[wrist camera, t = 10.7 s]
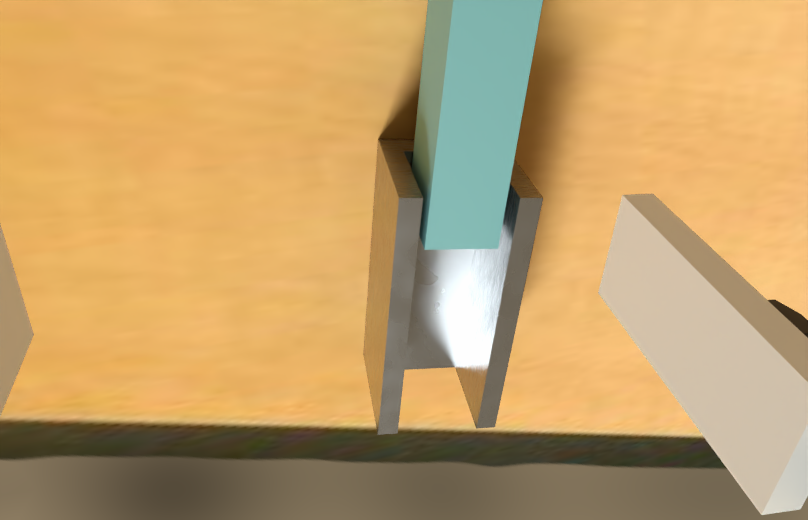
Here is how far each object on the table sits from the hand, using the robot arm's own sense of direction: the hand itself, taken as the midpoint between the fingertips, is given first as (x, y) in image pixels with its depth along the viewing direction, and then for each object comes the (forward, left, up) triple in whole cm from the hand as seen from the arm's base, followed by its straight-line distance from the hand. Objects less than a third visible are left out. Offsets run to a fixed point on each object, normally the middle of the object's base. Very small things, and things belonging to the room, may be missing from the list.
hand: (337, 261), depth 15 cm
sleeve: (+8, -15, -24) cm, 30 cm away
